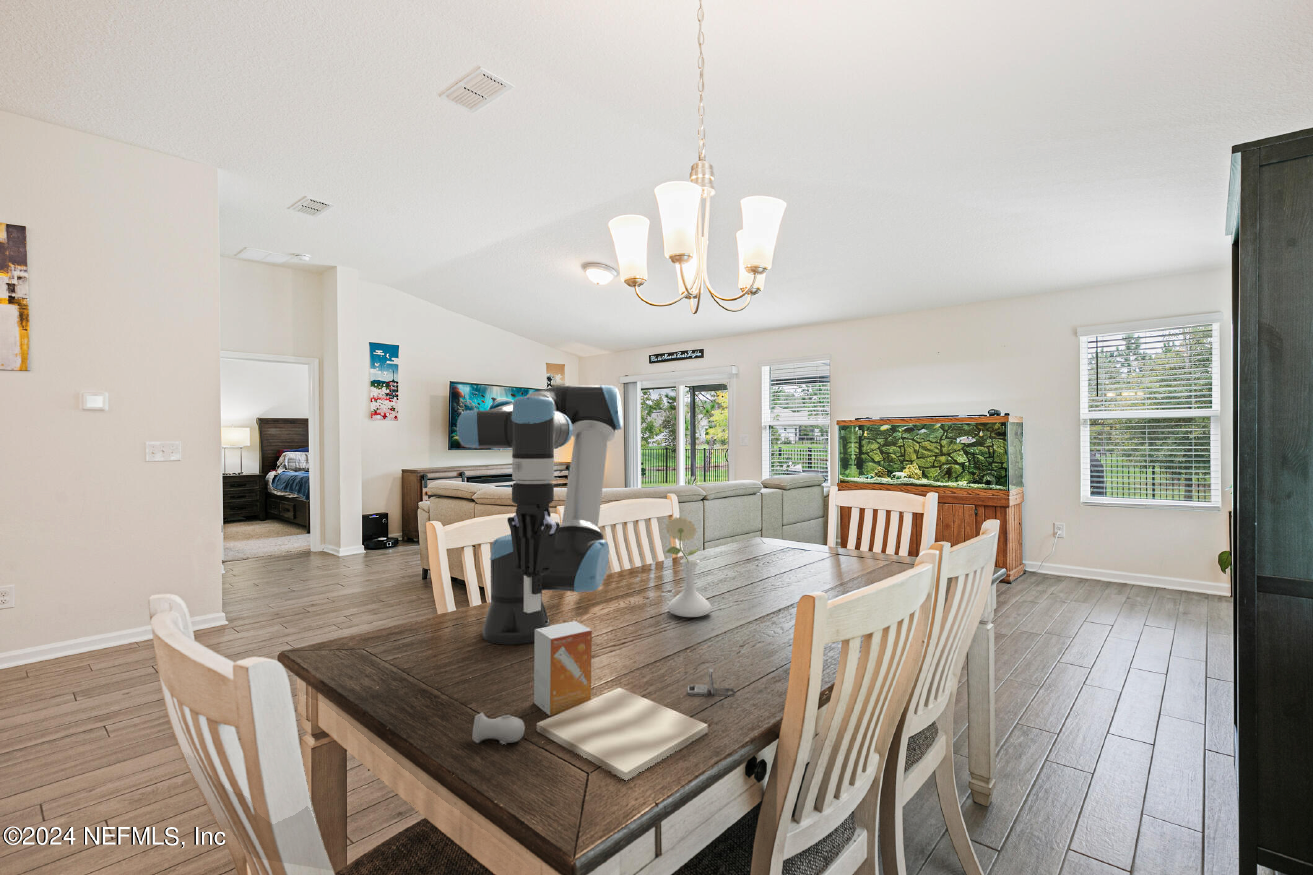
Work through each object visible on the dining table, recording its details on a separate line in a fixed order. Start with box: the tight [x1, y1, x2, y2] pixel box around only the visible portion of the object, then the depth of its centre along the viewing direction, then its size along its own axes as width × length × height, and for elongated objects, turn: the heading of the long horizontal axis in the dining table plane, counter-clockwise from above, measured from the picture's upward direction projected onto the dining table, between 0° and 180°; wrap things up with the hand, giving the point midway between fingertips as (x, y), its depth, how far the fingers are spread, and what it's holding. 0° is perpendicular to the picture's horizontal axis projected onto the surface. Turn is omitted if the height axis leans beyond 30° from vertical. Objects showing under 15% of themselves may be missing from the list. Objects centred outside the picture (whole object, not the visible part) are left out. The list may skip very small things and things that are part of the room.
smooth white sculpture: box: [471, 712, 526, 745], centre depth 92 cm, size 4×8×5 cm
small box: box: [533, 620, 593, 717], centre depth 104 cm, size 8×6×13 cm
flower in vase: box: [665, 516, 713, 618], centre depth 155 cm, size 13×11×25 cm
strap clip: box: [687, 668, 736, 697], centre depth 109 cm, size 8×3×4 cm, turn 87°
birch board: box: [536, 687, 709, 781], centre depth 94 cm, size 20×18×1 cm
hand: (532, 610), depth 110 cm, fingers closed
